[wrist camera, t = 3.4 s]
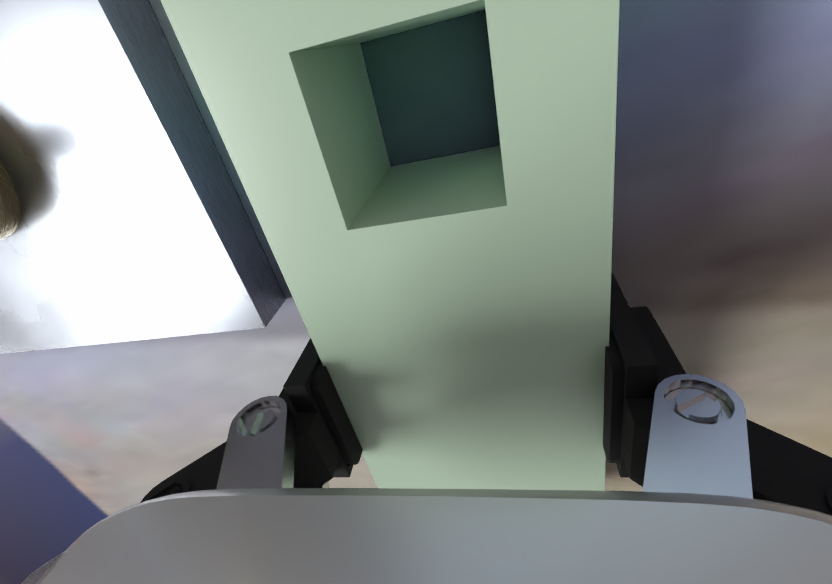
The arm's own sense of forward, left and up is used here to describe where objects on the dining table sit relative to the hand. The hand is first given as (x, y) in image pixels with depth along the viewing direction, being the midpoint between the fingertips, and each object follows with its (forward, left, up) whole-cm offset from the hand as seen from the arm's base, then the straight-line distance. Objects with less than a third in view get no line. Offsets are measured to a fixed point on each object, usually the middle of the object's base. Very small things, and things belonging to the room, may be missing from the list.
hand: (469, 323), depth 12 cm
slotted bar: (0, 0, -1) cm, 1 cm away
